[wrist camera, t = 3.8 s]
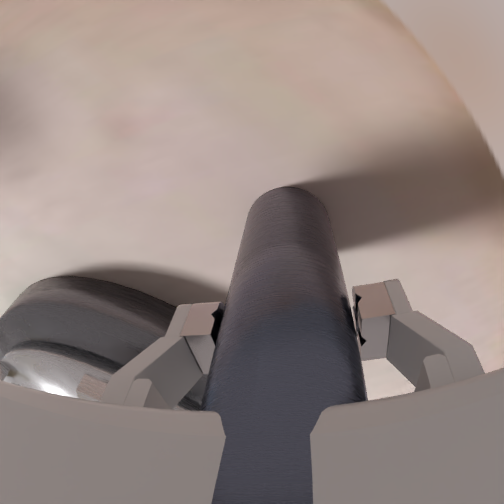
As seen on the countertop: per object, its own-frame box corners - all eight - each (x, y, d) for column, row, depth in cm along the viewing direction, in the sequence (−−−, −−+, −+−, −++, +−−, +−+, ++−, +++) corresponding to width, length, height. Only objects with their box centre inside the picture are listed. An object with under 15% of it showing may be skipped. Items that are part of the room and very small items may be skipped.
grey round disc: (188, 342, 14) (143, 491, 8) (269, 486, 25) (263, 551, 19) (-33, 334, 18) (-75, 391, 12) (88, 460, 29) (71, 507, 23)
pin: (323, 181, 14) (400, 558, 2) (332, 255, 16) (369, 564, 4) (238, 194, 15) (124, 544, 3) (256, 265, 17) (207, 564, 5)
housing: (233, 252, 17) (216, 310, 13) (293, 456, 29) (292, 492, 25) (-25, 288, 21) (-52, 317, 18) (98, 440, 34) (88, 466, 30)
